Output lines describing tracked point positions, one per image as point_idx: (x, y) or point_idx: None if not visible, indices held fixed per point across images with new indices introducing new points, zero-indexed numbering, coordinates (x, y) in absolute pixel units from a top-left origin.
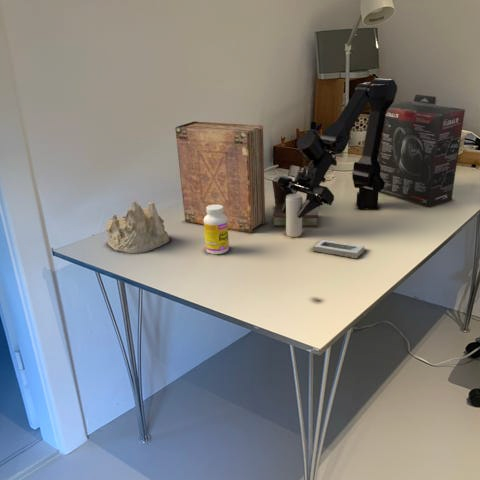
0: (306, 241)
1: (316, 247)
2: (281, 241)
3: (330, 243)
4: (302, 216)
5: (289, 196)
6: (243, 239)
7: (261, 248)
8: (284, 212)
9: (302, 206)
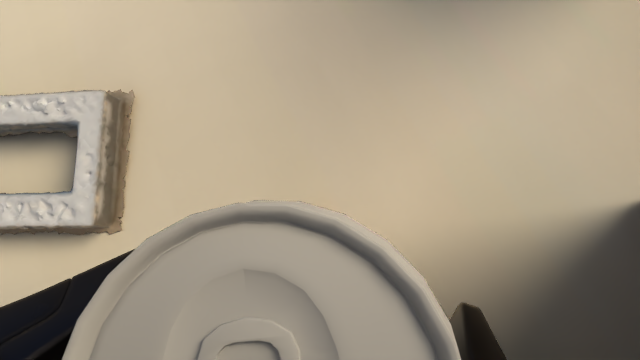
0: None
1: (91, 90)
2: (358, 153)
3: (38, 194)
4: None
5: (355, 337)
6: (613, 75)
7: (414, 9)
8: None
9: None
